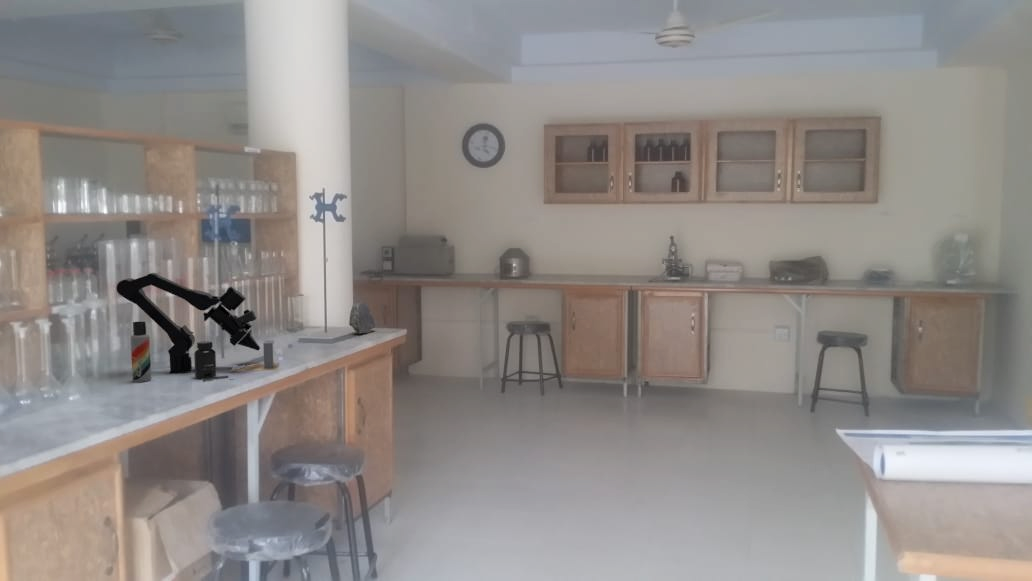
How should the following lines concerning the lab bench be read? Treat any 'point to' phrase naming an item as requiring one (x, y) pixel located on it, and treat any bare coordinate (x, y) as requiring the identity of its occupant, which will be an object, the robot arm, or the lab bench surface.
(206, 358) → the supplement bottle
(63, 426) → the lab bench surface
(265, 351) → the thick grey slab block
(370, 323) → the decorative rock
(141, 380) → the lotion bottle
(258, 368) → the cork mat
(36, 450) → the lab bench surface
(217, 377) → the metal turner
